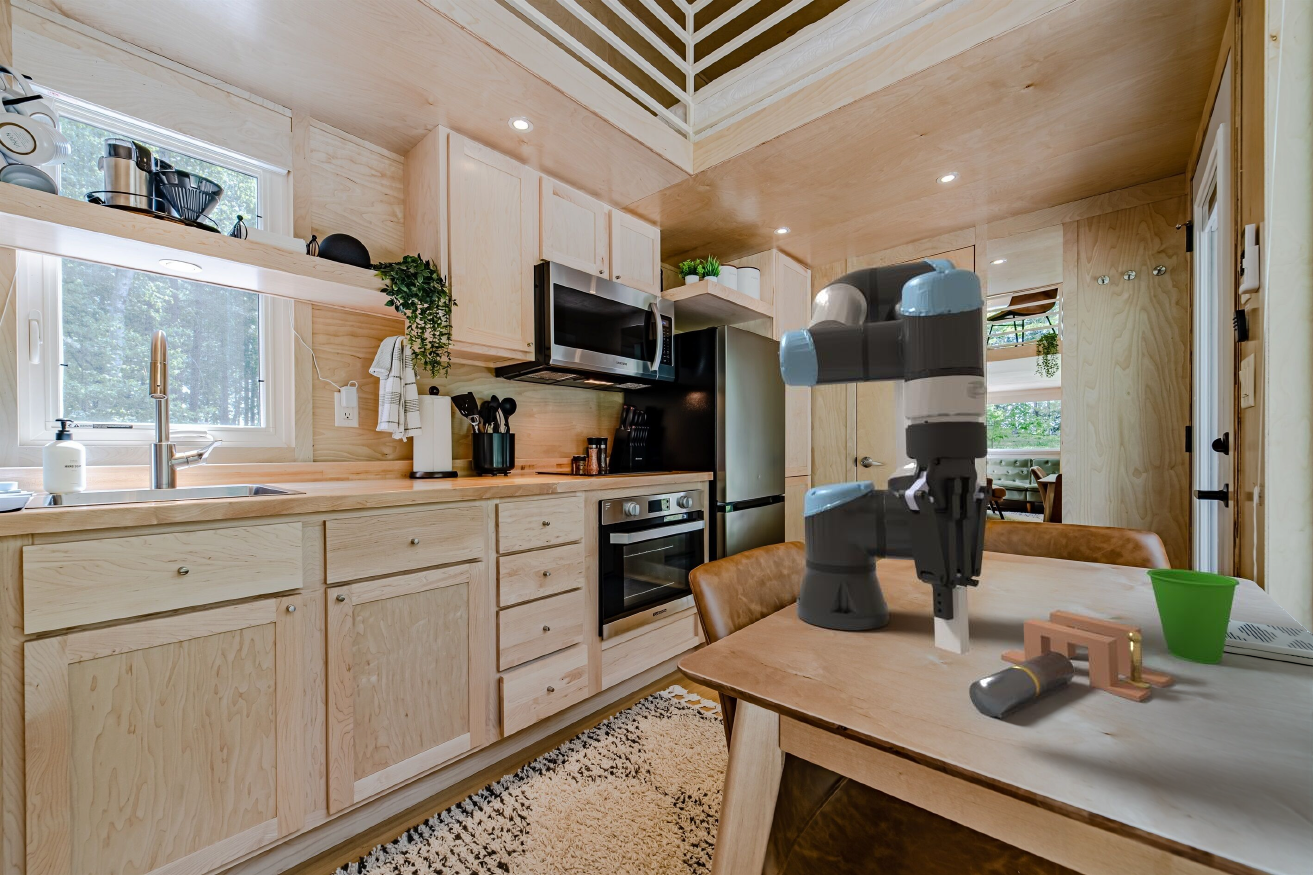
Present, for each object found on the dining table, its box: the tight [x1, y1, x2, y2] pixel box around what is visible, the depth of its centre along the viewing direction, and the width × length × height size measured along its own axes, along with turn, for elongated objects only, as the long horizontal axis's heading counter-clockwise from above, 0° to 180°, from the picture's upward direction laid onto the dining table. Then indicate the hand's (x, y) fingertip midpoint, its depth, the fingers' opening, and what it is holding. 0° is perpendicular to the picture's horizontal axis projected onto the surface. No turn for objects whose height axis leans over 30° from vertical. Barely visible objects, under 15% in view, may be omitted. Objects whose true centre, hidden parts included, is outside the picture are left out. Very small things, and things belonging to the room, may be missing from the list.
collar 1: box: [1000, 618, 1151, 703], centre depth 68 cm, size 15×3×6 cm, turn 30°
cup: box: [1146, 568, 1240, 665], centre depth 74 cm, size 9×9×11 cm
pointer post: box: [1122, 631, 1151, 690], centre depth 65 cm, size 2×2×6 cm
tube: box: [968, 651, 1075, 720], centre depth 63 cm, size 16×4×4 cm, turn 120°
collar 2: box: [1049, 609, 1174, 688], centre depth 72 cm, size 15×3×6 cm, turn 30°
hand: (951, 648), depth 55 cm, fingers closed
